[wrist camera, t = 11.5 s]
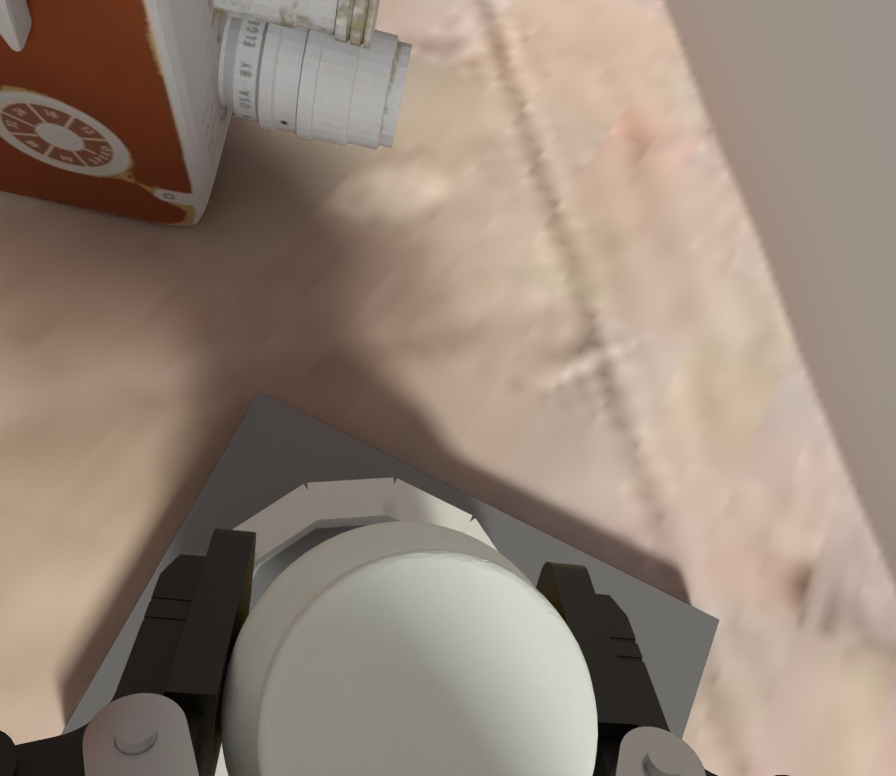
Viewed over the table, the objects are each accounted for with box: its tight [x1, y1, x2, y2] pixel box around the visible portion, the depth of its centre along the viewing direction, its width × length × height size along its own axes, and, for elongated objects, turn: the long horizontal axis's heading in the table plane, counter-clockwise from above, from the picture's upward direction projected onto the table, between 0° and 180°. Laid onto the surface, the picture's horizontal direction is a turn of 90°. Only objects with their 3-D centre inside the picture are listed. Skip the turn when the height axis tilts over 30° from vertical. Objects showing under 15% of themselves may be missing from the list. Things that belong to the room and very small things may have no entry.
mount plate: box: [61, 391, 719, 776], centre depth 21 cm, size 16×11×4 cm
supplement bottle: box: [221, 521, 598, 776], centre depth 13 cm, size 5×5×10 cm
